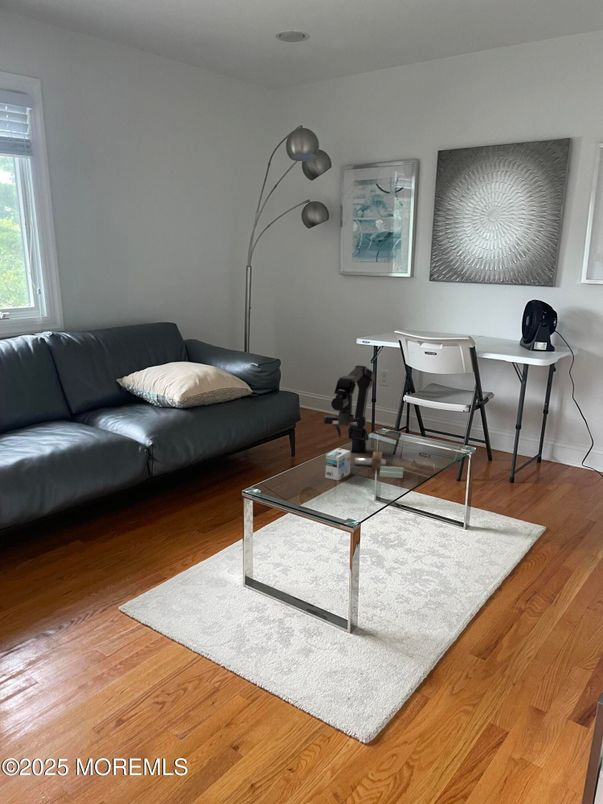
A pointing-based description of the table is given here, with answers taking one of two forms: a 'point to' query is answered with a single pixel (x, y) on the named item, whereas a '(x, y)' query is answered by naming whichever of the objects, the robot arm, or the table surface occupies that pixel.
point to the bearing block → (376, 460)
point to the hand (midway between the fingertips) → (344, 438)
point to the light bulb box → (338, 464)
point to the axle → (367, 461)
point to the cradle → (391, 472)
